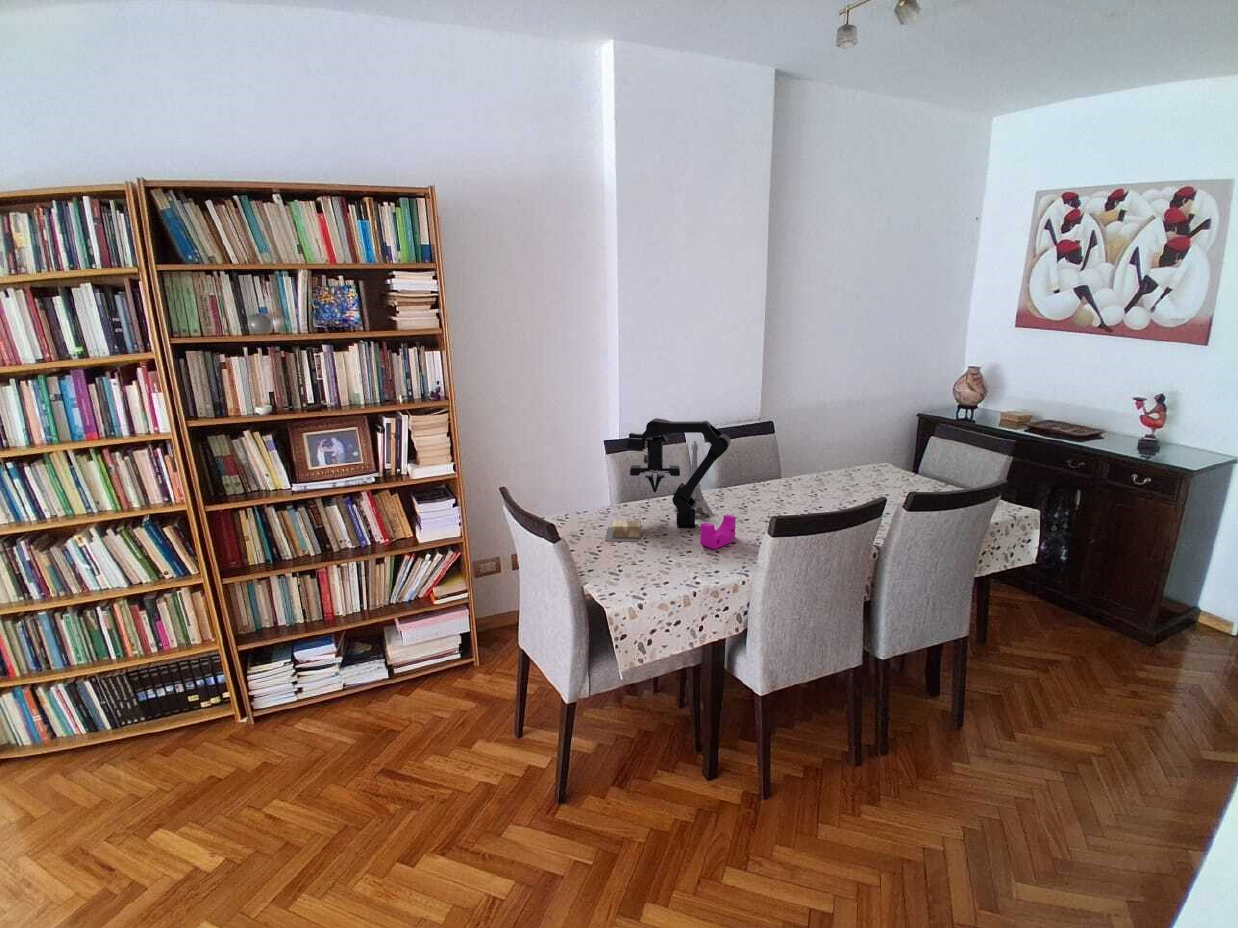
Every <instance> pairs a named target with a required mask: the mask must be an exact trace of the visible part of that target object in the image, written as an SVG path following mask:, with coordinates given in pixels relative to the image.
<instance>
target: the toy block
mask: <svg viewBox="0 0 1238 928" xmlns="http://www.w3.org/2000/svg"><path fill="white" fill-rule="evenodd" d="M736 520H737V518H736V516H734V515H731V514H725V515H723V517H722V522H721V524H720V526H719V528H717V529H716V528H715V524H712V523H708V522H704V523H701V524H700V545H702V546H705V547H707V548H709V549H713V550H715V549H716V550H717V549H718V548H721V547H722V546H723V547H724V546H725V545H728V544H730V543H733V542H734V538H735V537H736Z"/></svg>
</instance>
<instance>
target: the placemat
mask: <svg viewBox="0 0 1238 928" xmlns="http://www.w3.org/2000/svg"><path fill="white" fill-rule="evenodd" d="M639 541H640V537H613V526H609V527H607V530H606V534H605V538H604V542H619V543H620V542H621V543H622V542H628V543H630V542H632V543H633V542H634V543H635V542H636V543H637V542H639Z"/></svg>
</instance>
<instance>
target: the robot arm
mask: <svg viewBox="0 0 1238 928" xmlns="http://www.w3.org/2000/svg"><path fill="white" fill-rule="evenodd" d="M670 433H671V434H676V433H677V434H678V433H679V434H680V433H683V434H690V433H692V434H693V433H694V434H696V433H699V434H702V435H703V436H704V437H705V439H706V441H708V443H709V444H710V447H709V449H708V452H707V454H706V456H704V459H702V461H701V462H700V464H699V465H698V468H697V470H696V471H695V472H694V474H693V475H692V477H691V478H690V477H689V479H688V481H687V482H685V483H683V482H680V484H679V485H678V486H677V489H675V491H674V492H673V493H672V500H671V501H672V503H673V505H674V506H675V507H676V508H677V510H678V511H676V518H675V519H676V520H675V521H676V523H675V524H676V525H677V528H679V529H680V528H681V529H696V509H694V507H695V505H696V501H695V500H694V499H693V498H692V497H691V496H692V494H693V492H694V490H695V487H696V486H697V485H698V483H699V484H700V482H701V481H702V479H703V478H704V477H705V475H706V474H707V472H708V471H709V469H710V468H711V467H712V465H713V464H714V463H715V462H716V460H717V459H719V458H720V457H721V456H722V455H723V454H724V453H726V451H727V450H728V449H729V448H730V445H731V438H730V436H728V435H727V434H724V433H722V431H720V430H719V429H718V428H716V427H715V426H713V425H712V424H711V423H710V421H708V420H701V421H670V420H668V419H664V418H657V417H656V418H653V419H652V420H650V421H648V422H647V424H646V426H645V431H643V432H642V433H634V432H630V433H629V434H628V438H627V443H626V449H627V451H629V452H640V453H642V452H644V451H645V450H647V454H644V455H643V463H644V464H645V465H646V464H647V466H646V467H642V465H641V464H632V465H630V467H629V476H632V477H633V476H634V477H637V476H640V475H641V474H643V473H644V476H645V477H644V478H645V479H648V481H649V483H650V484H651V489H652V491H653V493H657V490H658V487H659V485H660V482H661V481H662V479H664V478H665V475H666V474H669V475H670V476H671V477H680V476H681V468H680V466H679V465H671V464H670V465H669V466H668V467H663V463H664V462H663V461H664V460H663V459H664V455H663V454H664V452H663V451H664V449H663V448H664V444H663V443H666V442H667V441H669V438H668V437H667V436H666V434H670ZM654 474H656V477H655V478H654Z"/></svg>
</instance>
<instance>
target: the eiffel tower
mask: <svg viewBox="0 0 1238 928" xmlns="http://www.w3.org/2000/svg"><path fill="white" fill-rule="evenodd" d="M698 446H699V445H698V443H697V440H694V441H693V443H692V445H691V450H692V456H691V469H690V474H689V475H690V477H689V479H690V478H691V477H692V475H693V474H694V472H695V471H696V470H697V468H698V467H699V465H698V450H699V447H698ZM701 487H702V485H701V484H700V482H699V483H698V485H697V486H696V487H695V490H694V492H693V494H692V496H691V497H692V498H693V499H694V500H695V501H696V505H695V507H694V509H695V510H696V509H703V510H704V511H705V512H706V514H707V516H708V517H709V518H716V517H717V516H716V515H715V514H714V512H713V511H712V509H711V508H710V506H709V505H708V501H707V500H706V499H705V497H704V495H703V492H702V490H701ZM672 510H673V512H678V510H677V508H676V506H675V507H674V508H673V509H672Z"/></svg>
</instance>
